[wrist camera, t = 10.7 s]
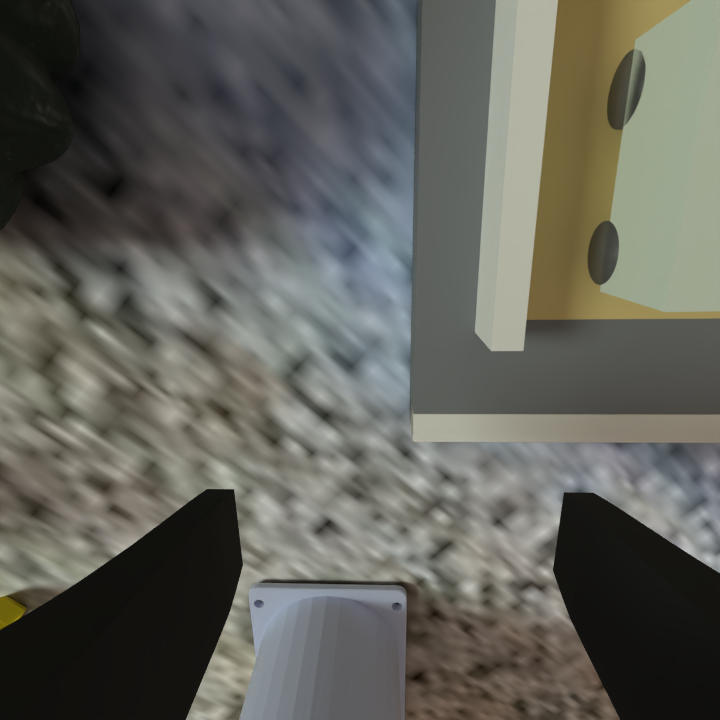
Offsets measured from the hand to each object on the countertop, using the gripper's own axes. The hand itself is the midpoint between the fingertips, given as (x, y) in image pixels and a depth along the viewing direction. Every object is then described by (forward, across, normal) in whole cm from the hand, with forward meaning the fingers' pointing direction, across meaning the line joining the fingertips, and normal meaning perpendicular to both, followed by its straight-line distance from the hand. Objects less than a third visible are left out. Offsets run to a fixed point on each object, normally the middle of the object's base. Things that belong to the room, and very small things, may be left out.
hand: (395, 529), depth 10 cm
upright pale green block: (+8, -9, -8) cm, 14 cm away
